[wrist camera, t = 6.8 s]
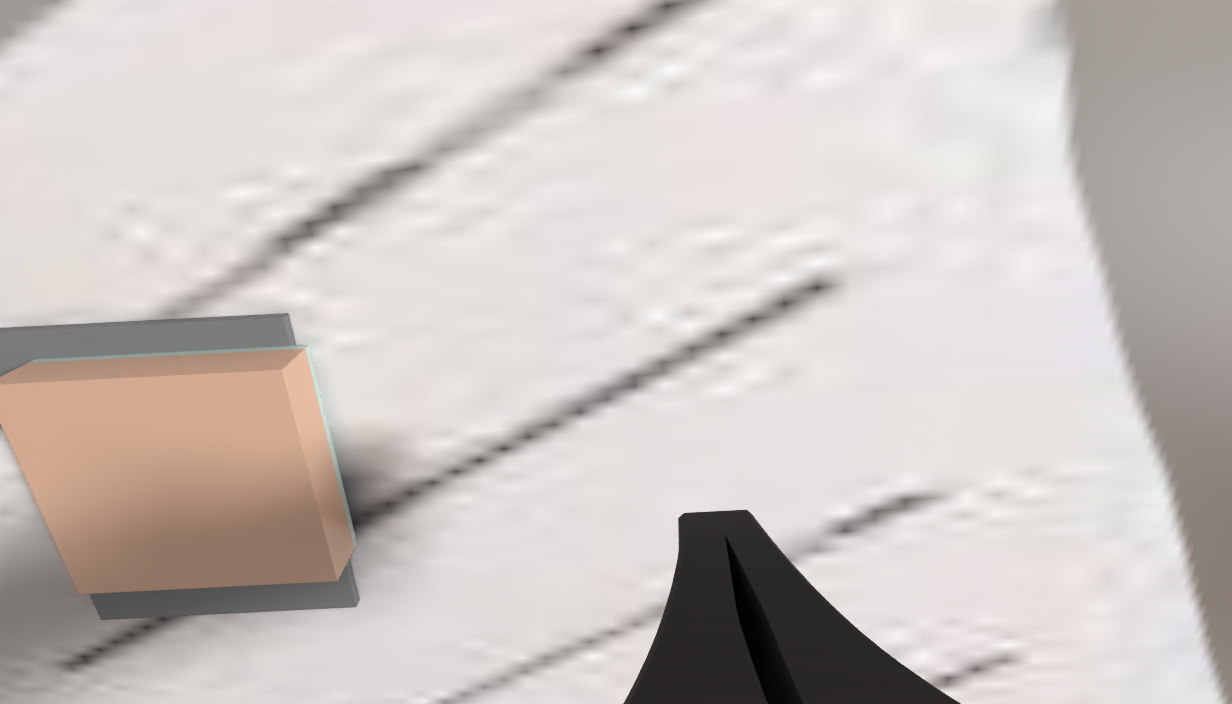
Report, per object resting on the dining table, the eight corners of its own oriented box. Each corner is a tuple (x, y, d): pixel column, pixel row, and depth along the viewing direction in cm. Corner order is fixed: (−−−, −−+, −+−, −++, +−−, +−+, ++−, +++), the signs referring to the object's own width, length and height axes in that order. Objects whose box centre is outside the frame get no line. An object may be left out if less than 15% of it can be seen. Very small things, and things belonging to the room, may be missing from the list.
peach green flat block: (337, 581, 23) (78, 594, 23) (357, 543, 25) (116, 555, 25) (282, 369, 20) (-17, 385, 20) (308, 345, 22) (35, 359, 22)
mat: (359, 599, 26) (356, 606, 26) (108, 612, 26) (101, 619, 26) (288, 313, 22) (282, 317, 22) (-16, 329, 22) (-27, 333, 22)
